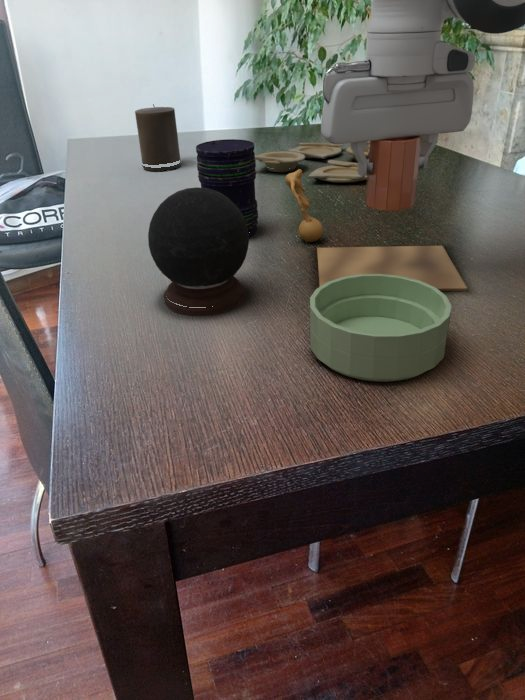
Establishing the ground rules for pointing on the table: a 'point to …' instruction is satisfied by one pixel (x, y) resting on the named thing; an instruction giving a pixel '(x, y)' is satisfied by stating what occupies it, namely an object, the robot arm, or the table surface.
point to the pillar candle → (158, 137)
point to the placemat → (391, 264)
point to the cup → (393, 173)
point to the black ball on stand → (199, 250)
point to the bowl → (379, 326)
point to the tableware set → (334, 173)
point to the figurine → (304, 209)
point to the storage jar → (231, 174)
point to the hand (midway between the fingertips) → (392, 171)
